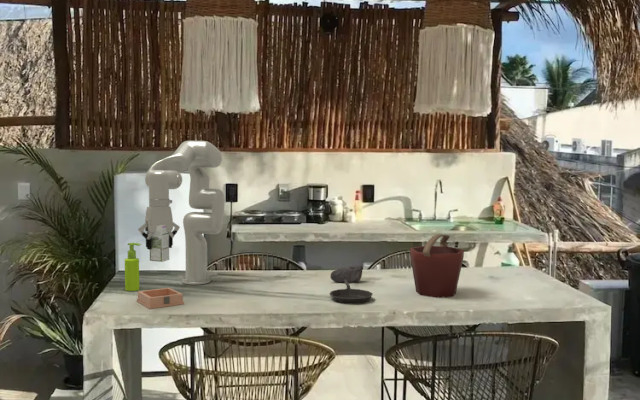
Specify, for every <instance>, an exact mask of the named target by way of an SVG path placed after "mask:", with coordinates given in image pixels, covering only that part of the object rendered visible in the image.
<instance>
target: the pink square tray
mask: <svg viewBox="0 0 640 400" xmlns="http://www.w3.org/2000/svg"><path fill="white" fill-rule="evenodd" d="M136 292H137V298H136V302H137V303H139V304H140V305H142V306H144V307H145V308H147V309H158V308H165V307H172V306H181V305H185V301H184V293H182V292H179V291H177V290H175V289H173V288H171V287H164V288H157V289H156V288H155V289H148V290H137V291H136Z"/></svg>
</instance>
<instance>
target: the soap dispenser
mask: <svg viewBox="0 0 640 400" xmlns="http://www.w3.org/2000/svg"><path fill="white" fill-rule="evenodd" d="M141 245H142V244H141V243H139V242H128V243H127V246H129V250H127V258H124V290H125V291H127V292H135V291H136V292H137V291H140V258H137V251H136V250H135V249H134V248H135V247H134V246H141Z"/></svg>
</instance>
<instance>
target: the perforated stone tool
mask: <svg viewBox="0 0 640 400" xmlns="http://www.w3.org/2000/svg"><path fill="white" fill-rule="evenodd" d="M362 276H363V268H362V267H361V266H353V267H352V266H349V267H341V268H337V269H335V270H333V271H332V272H331V273H330V279H331V281H333V282H335V283H343V284H345V282H344V280H343V279H346V280H347V281H348V283H349V284H350V283H354V282H355V283H358V282H360V281H361V279H362Z"/></svg>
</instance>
